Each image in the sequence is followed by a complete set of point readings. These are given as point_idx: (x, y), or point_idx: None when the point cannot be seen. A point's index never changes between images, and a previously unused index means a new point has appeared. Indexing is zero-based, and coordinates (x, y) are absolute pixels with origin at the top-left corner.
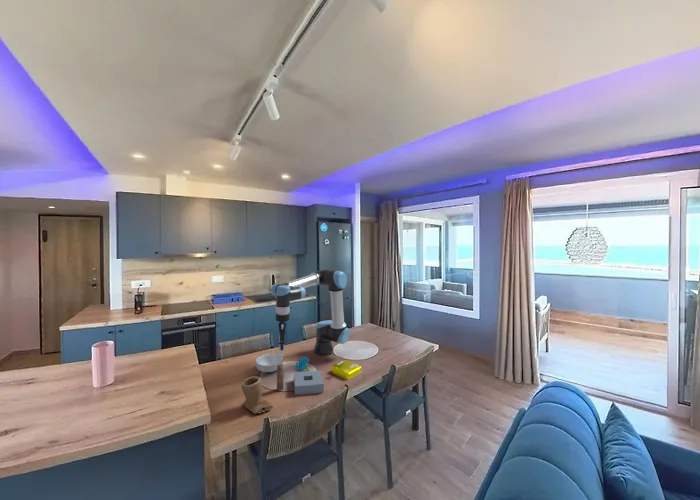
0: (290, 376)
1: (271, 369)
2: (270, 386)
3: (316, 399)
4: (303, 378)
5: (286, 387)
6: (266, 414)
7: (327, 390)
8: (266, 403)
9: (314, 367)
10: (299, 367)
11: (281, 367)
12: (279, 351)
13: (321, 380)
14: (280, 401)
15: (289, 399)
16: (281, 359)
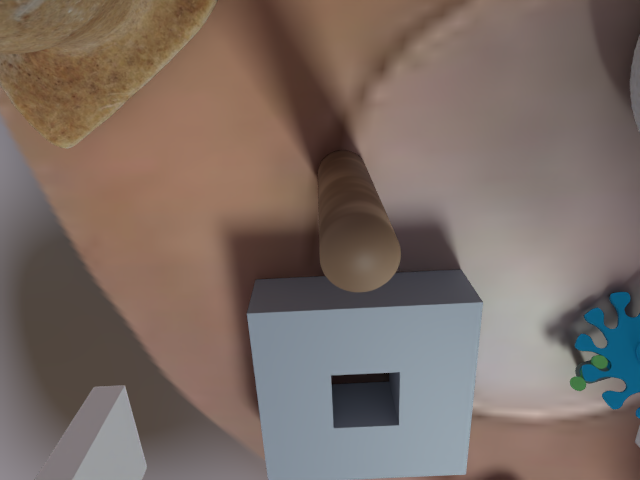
0: (529, 245)
1: (634, 87)
2: (406, 92)
3: (201, 397)
4: (362, 370)
5: None
6: None
7: None
8: (50, 95)
9: None
10: (620, 321)
11: (321, 266)
12: (43, 478)
13: (315, 473)
14: (183, 187)
15: (206, 246)
16: None
